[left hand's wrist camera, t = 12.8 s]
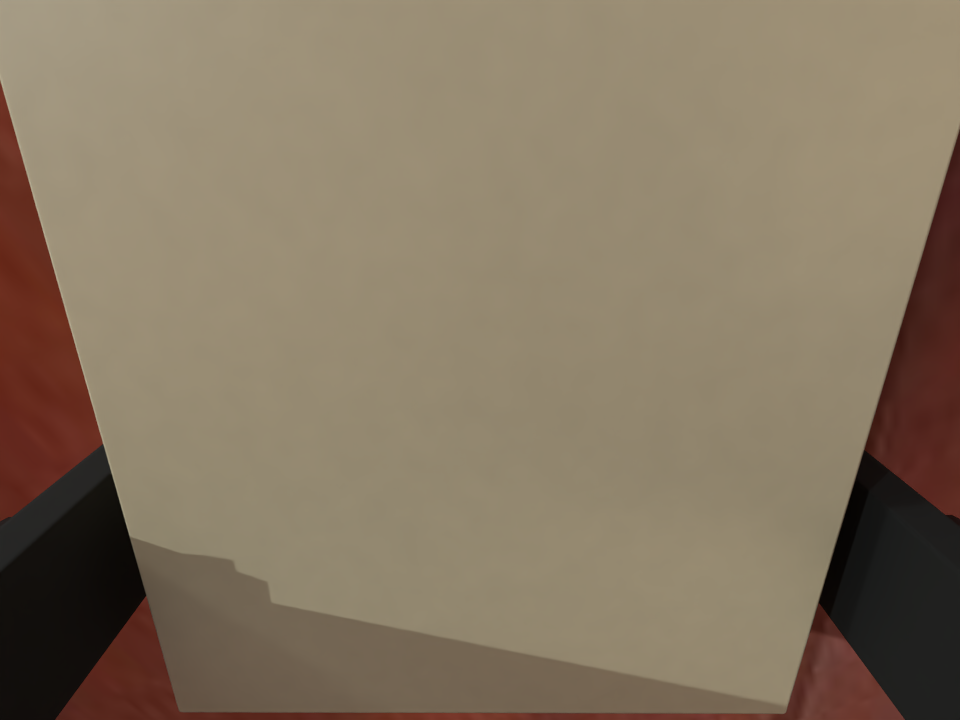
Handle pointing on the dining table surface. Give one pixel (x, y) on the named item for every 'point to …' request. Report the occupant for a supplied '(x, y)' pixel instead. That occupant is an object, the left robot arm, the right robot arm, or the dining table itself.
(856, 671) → the dining table surface
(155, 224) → the cream rectangular box
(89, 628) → the left robot arm
